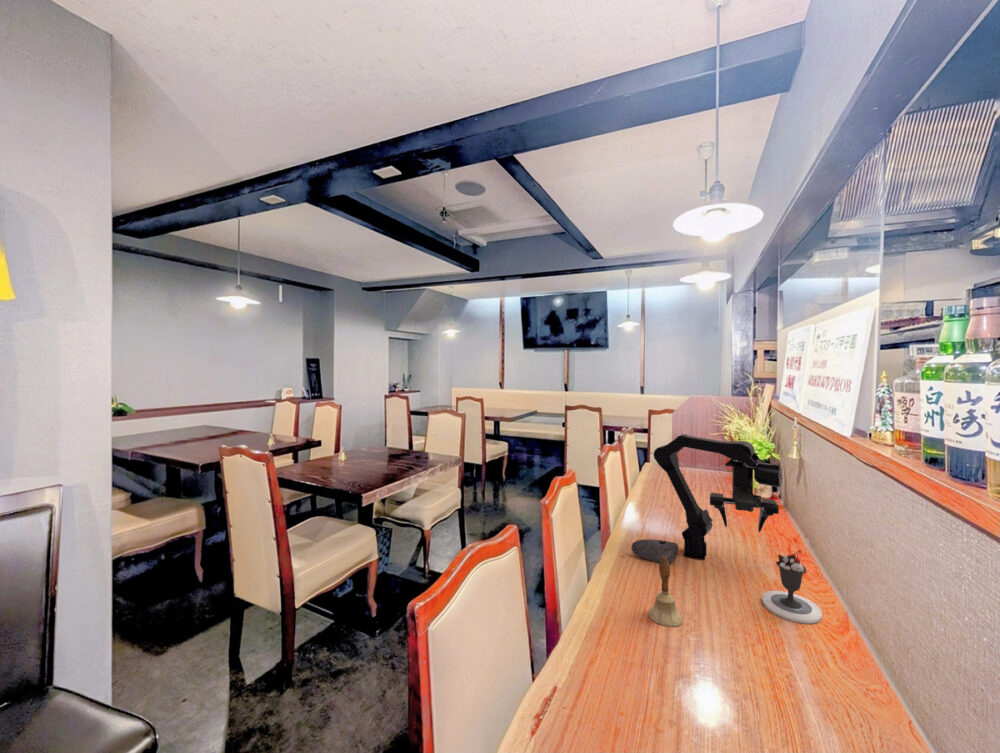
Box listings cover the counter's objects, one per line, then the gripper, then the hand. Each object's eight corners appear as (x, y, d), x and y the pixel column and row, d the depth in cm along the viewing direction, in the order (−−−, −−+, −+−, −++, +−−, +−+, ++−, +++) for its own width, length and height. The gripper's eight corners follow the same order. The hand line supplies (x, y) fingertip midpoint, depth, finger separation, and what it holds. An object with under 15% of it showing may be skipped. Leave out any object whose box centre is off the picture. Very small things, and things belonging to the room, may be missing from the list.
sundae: (811, 612, 104) (812, 555, 104) (782, 608, 106) (782, 552, 106) (798, 598, 111) (799, 544, 111) (771, 595, 112) (771, 542, 112)
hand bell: (667, 631, 100) (667, 567, 99) (641, 613, 107) (641, 553, 107) (689, 621, 103) (690, 559, 103) (663, 604, 111) (663, 547, 110)
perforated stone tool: (629, 558, 138) (629, 538, 138) (632, 552, 142) (632, 532, 142) (677, 568, 131) (677, 547, 131) (678, 561, 135) (678, 541, 135)
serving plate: (765, 615, 106) (765, 609, 106) (759, 590, 117) (759, 585, 117) (827, 629, 100) (827, 623, 100) (815, 602, 111) (815, 597, 111)
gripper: (710, 483, 126) (710, 533, 127) (781, 491, 118) (781, 544, 118) (709, 475, 136) (709, 521, 137) (775, 482, 128) (775, 530, 128)
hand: (742, 529), depth 130 cm, fingers open, 9 cm apart
